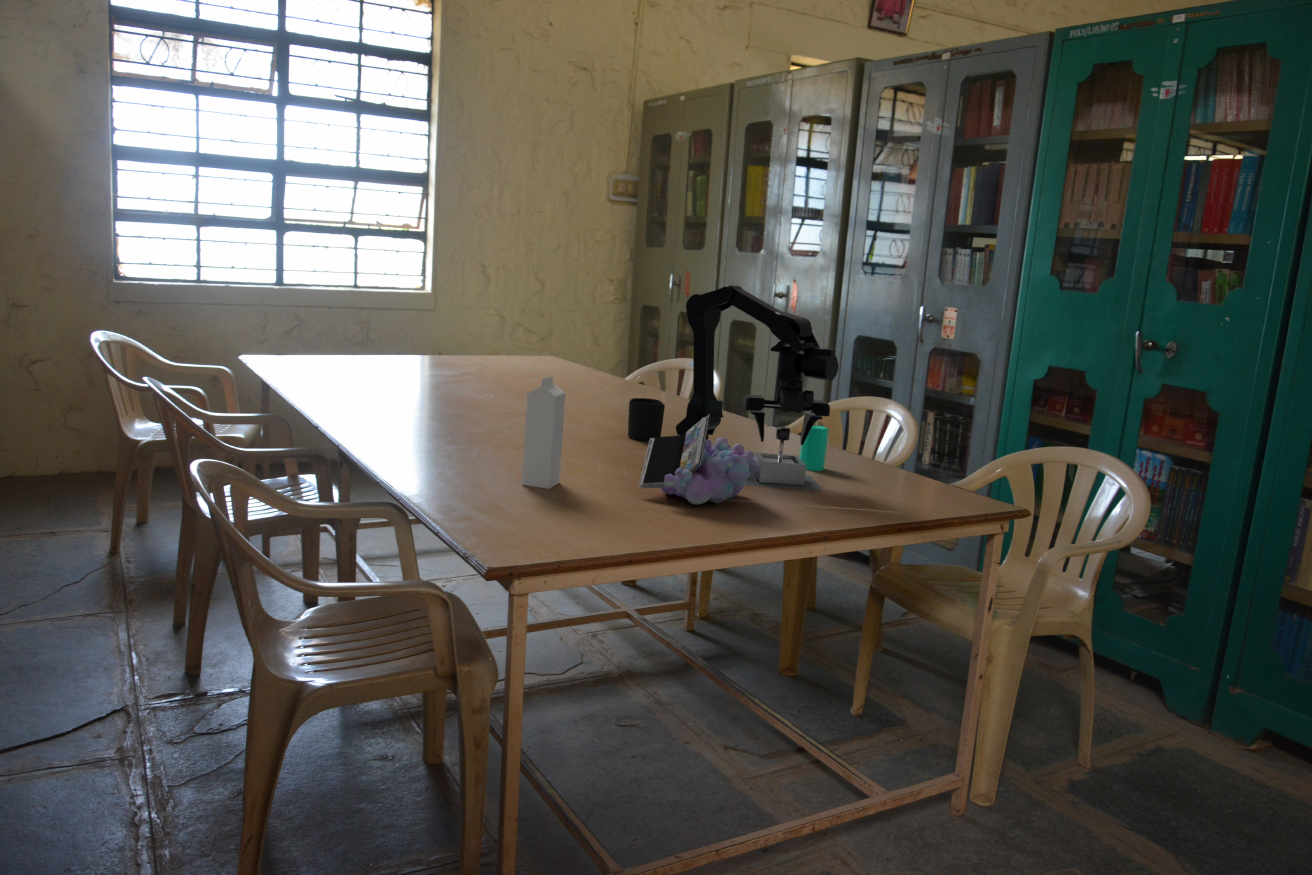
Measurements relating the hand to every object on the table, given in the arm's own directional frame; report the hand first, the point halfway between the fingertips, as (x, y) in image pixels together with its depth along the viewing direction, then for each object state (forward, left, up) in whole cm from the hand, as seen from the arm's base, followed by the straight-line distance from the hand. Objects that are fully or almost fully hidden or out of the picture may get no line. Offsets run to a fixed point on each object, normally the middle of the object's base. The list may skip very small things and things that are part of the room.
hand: (781, 443), depth 212 cm
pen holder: (-29, +39, -9) cm, 49 cm away
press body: (-1, 0, -8) cm, 9 cm away
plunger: (0, 0, -5) cm, 5 cm away
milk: (-52, -18, -9) cm, 56 cm away
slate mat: (0, 0, -9) cm, 9 cm away
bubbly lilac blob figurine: (-20, -21, -9) cm, 30 cm away
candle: (+11, +16, -9) cm, 21 cm away
